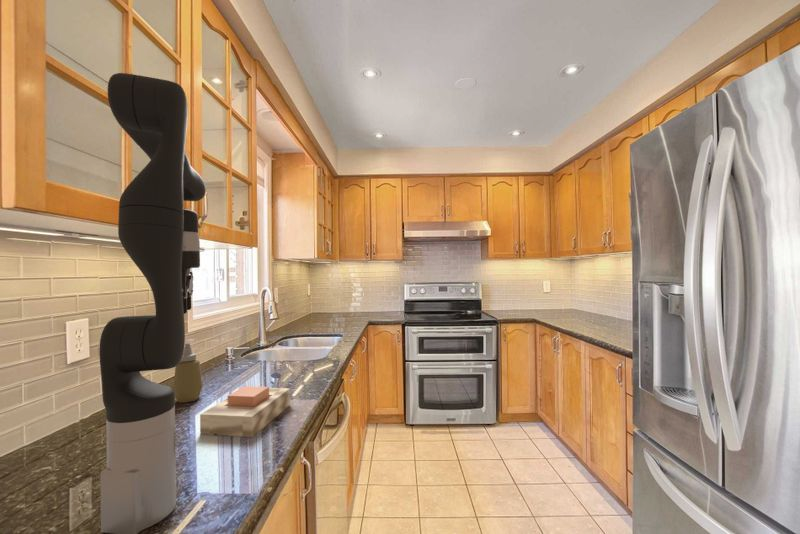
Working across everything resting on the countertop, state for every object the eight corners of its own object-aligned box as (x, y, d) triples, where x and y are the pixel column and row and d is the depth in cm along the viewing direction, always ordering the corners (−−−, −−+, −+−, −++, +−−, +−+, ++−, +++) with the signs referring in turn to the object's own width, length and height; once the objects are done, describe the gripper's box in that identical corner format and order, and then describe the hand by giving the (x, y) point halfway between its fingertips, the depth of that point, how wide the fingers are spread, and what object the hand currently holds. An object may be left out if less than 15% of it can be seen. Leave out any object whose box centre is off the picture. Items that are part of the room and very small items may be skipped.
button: (254, 411, 90) (253, 396, 90) (227, 410, 92) (227, 395, 92) (269, 400, 98) (268, 386, 98) (244, 399, 99) (244, 386, 99)
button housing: (252, 437, 84) (251, 416, 84) (200, 434, 86) (200, 414, 86) (289, 405, 104) (289, 388, 104) (247, 403, 106) (246, 387, 106)
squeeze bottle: (189, 405, 105) (188, 346, 105) (166, 403, 106) (166, 345, 107) (208, 395, 113) (207, 341, 113) (187, 394, 114) (187, 340, 115)
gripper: (196, 248, 85) (197, 314, 85) (202, 251, 98) (203, 307, 98) (160, 248, 82) (161, 316, 82) (171, 251, 94) (172, 309, 95)
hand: (184, 311), depth 90 cm, fingers open, 8 cm apart
